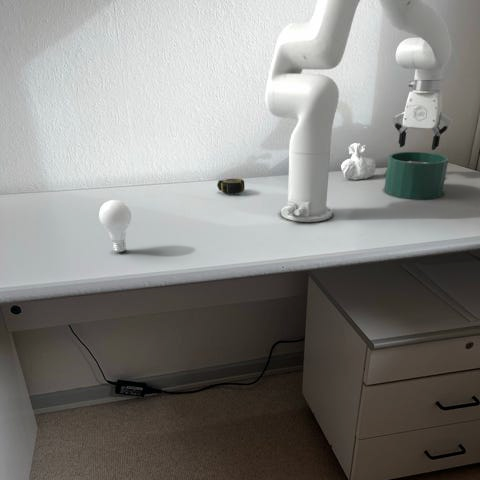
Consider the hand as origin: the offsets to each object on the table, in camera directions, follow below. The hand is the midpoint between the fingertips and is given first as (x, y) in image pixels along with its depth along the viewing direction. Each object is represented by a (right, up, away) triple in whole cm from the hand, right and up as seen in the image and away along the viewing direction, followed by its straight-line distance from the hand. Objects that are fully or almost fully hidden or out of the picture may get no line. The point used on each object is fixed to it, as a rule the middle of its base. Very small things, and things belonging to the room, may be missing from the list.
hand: (417, 147), depth 152 cm
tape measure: (-57, -16, -9) cm, 60 cm away
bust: (-18, -8, +4) cm, 20 cm away
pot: (-5, -17, -11) cm, 21 cm away
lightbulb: (-80, -39, -48) cm, 101 cm away
